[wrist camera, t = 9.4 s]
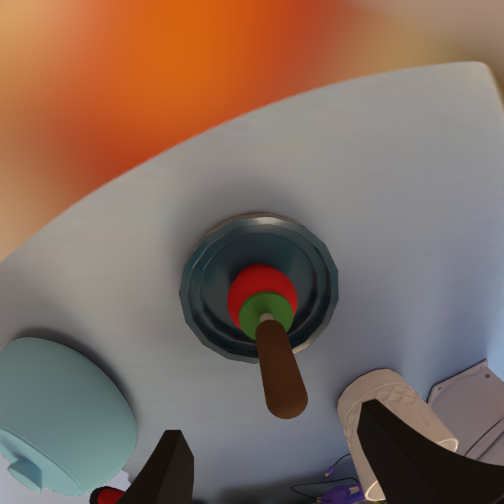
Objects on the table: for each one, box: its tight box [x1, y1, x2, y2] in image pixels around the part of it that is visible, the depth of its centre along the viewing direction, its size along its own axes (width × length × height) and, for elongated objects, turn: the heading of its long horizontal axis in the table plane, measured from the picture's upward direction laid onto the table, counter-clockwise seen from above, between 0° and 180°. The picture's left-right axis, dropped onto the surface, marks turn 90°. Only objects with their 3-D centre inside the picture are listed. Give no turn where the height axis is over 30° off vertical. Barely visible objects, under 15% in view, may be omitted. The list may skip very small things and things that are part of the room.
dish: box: [179, 212, 338, 364], centre depth 18 cm, size 10×10×2 cm
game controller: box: [291, 454, 384, 504], centre depth 24 cm, size 10×8×10 cm
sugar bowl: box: [0, 337, 138, 496], centre depth 15 cm, size 15×15×12 cm
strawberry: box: [227, 264, 308, 419], centre depth 13 cm, size 4×4×11 cm
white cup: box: [337, 369, 458, 501], centre depth 18 cm, size 8×8×10 cm
